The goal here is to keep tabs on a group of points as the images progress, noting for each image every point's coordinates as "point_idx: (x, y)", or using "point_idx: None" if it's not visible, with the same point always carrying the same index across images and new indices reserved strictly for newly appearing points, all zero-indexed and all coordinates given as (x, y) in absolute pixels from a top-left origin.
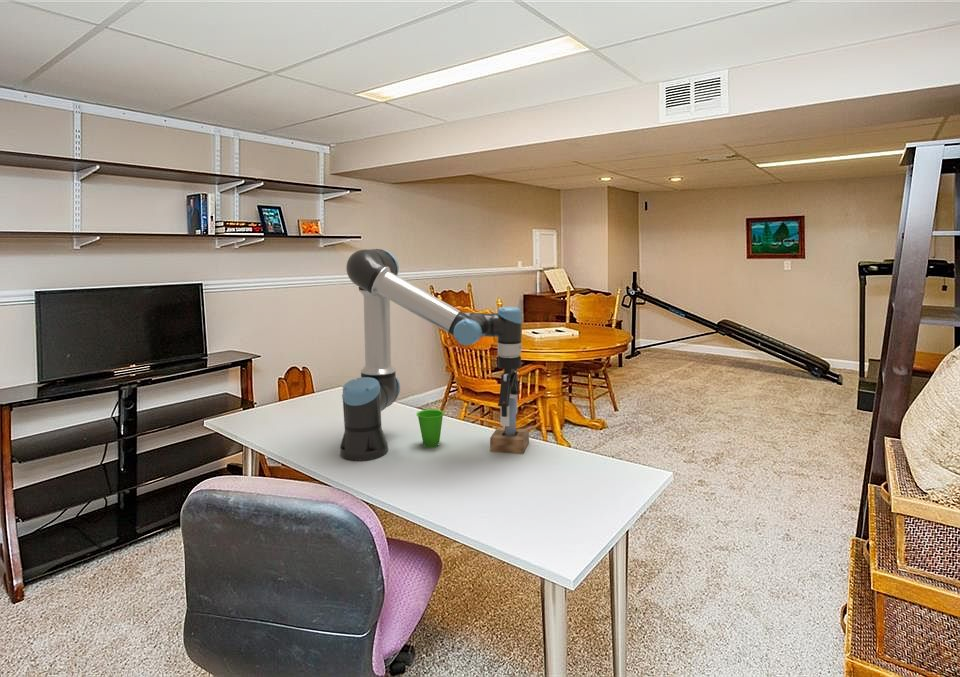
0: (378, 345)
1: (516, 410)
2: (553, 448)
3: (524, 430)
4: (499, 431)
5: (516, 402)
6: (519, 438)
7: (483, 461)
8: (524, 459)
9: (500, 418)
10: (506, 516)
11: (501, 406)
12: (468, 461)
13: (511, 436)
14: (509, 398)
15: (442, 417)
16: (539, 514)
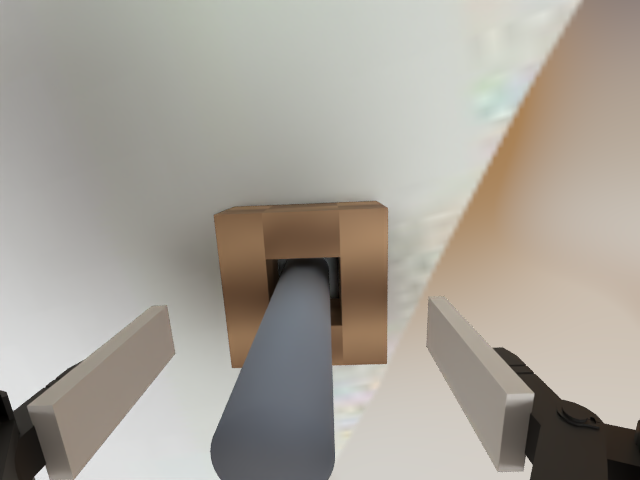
0: None
1: (434, 358)
2: None
3: (364, 348)
4: (320, 236)
5: (459, 403)
6: (248, 348)
7: (121, 210)
8: (196, 347)
9: (119, 332)
10: None
11: (35, 411)
12: (97, 150)
13: (264, 309)
14: (315, 441)
15: None
16: None
